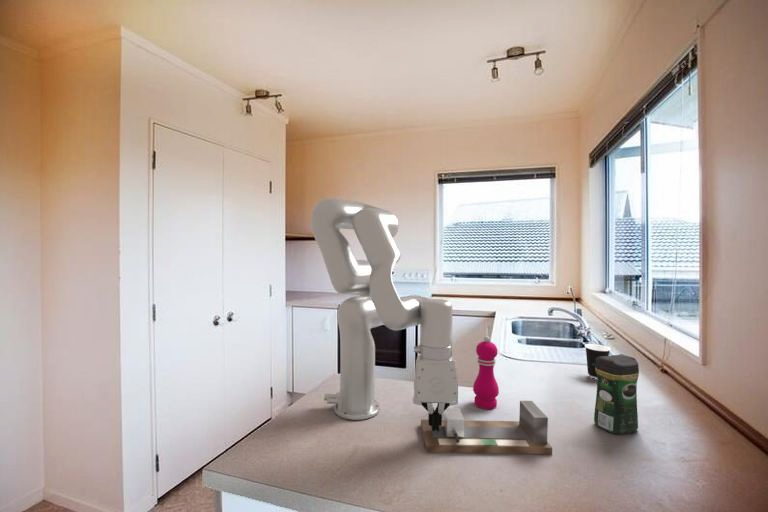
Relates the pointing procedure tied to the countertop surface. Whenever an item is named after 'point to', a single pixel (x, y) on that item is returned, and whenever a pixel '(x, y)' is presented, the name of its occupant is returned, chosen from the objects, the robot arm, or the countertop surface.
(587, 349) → the dixie cup
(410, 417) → the countertop surface
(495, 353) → the pepper mill
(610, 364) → the coffee jar
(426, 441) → the base
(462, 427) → the gauge slider
